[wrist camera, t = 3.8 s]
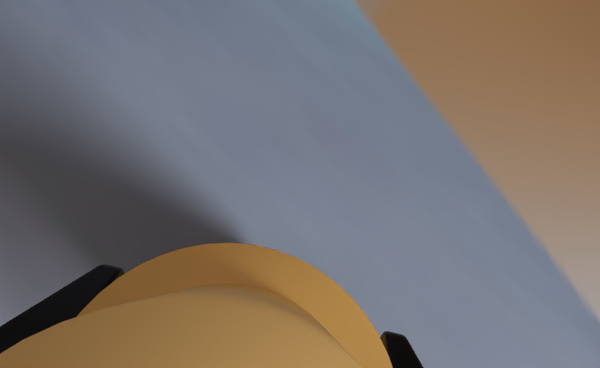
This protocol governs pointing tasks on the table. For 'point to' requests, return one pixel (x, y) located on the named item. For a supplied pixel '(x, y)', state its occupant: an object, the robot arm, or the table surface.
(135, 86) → the table surface
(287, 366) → the stepped tan cylinder
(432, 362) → the table surface
